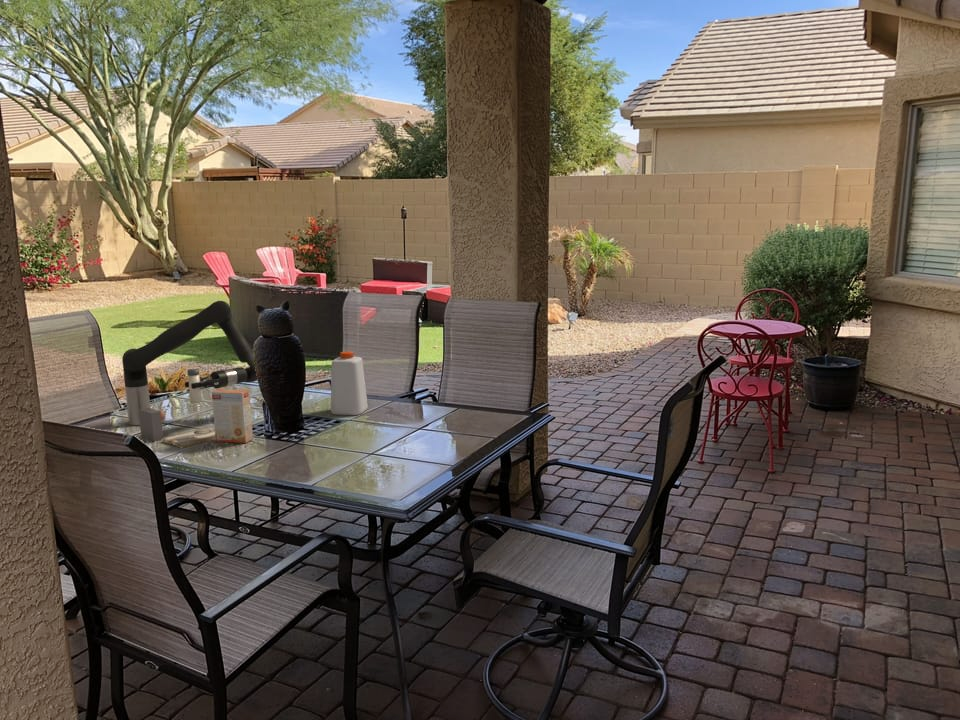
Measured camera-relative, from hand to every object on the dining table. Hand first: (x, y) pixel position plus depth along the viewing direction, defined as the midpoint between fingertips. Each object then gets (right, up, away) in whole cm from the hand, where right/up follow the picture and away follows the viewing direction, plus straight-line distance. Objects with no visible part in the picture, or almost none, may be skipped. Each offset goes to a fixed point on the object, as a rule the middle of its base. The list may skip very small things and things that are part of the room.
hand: (188, 385), depth 316 cm
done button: (-10, -14, -5) cm, 18 cm away
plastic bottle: (+62, -13, +32) cm, 71 cm away
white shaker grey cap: (+2, -7, +4) cm, 8 cm away
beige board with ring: (+5, -22, -8) cm, 24 cm away
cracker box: (+23, -22, -11) cm, 34 cm away
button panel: (-12, -22, -7) cm, 26 cm away
